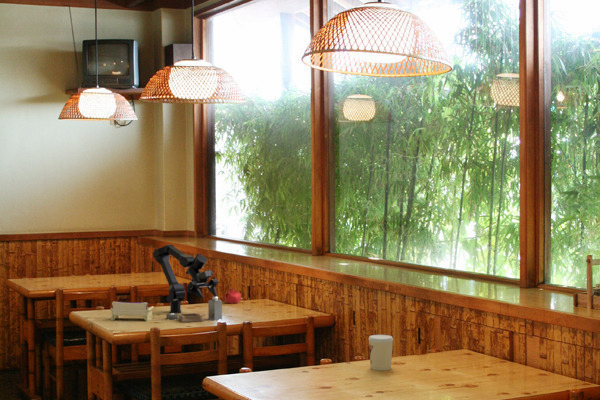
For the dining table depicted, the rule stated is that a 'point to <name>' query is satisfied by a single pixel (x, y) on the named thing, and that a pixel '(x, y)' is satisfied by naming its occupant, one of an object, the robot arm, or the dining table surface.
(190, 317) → the chassis bay
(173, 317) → the rubber wheel
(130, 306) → the toy sofa
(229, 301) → the pomegranate
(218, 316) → the grey square bottle
